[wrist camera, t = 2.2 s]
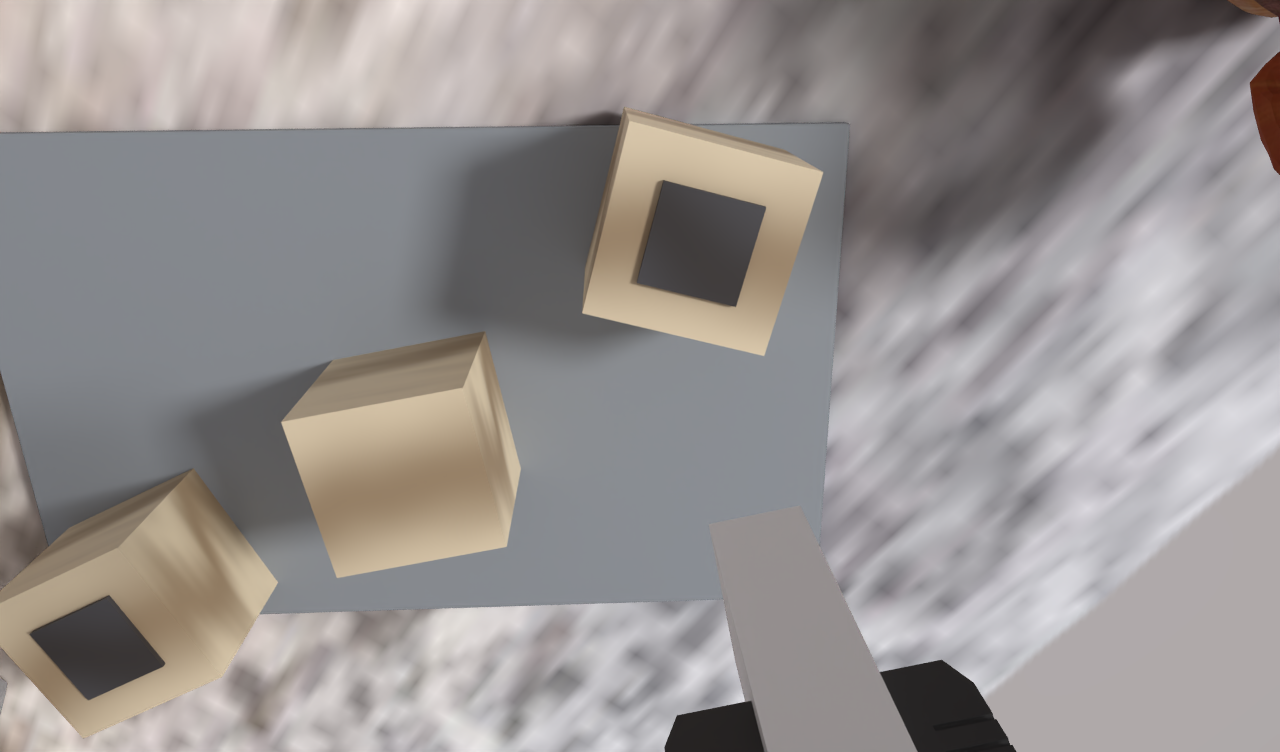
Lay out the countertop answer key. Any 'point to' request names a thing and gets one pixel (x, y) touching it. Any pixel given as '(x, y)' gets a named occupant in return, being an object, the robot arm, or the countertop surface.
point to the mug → (1266, 86)
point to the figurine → (2, 692)
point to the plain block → (407, 455)
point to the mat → (396, 345)
